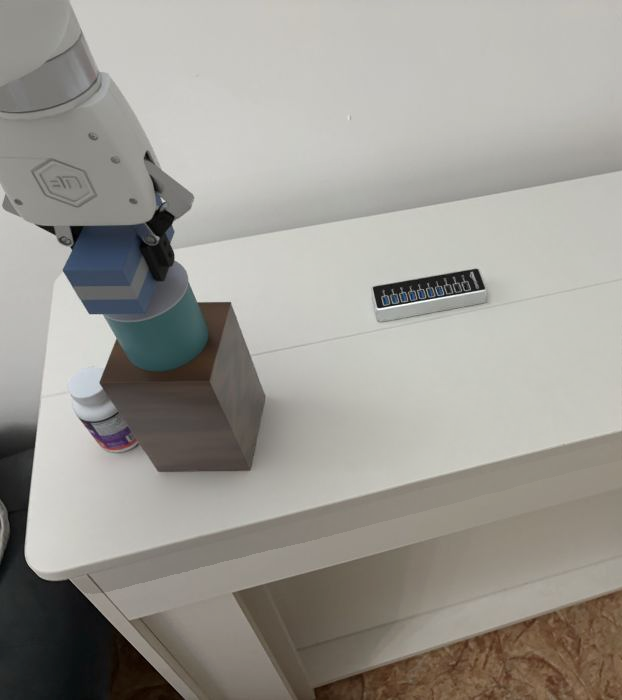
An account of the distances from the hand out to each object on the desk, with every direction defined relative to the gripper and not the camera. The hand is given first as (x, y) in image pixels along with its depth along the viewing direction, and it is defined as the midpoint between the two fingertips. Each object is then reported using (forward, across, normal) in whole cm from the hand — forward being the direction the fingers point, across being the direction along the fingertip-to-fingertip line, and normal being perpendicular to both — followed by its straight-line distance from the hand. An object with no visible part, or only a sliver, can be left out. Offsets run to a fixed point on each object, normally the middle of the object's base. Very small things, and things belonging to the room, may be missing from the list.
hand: (132, 268), depth 60 cm
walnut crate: (+25, 0, 0) cm, 25 cm away
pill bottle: (+26, -10, 0) cm, 27 cm away
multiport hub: (+26, +24, +20) cm, 40 cm away
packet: (0, 0, 0) cm, 0 cm away
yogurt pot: (+9, 0, 0) cm, 9 cm away
